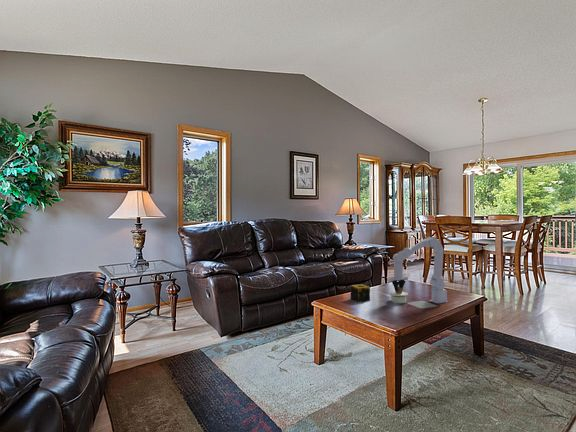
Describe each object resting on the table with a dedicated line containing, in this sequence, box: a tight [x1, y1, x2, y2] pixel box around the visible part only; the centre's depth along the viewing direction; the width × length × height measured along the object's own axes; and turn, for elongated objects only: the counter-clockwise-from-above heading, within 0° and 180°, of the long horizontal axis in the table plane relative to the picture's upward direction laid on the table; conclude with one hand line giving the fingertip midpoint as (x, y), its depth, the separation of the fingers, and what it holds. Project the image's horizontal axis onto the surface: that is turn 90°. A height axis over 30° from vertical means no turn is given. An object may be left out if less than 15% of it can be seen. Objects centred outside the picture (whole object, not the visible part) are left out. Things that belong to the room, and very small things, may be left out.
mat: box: [406, 300, 438, 309], centre depth 212 cm, size 14×14×1 cm
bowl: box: [390, 295, 407, 304], centre depth 220 cm, size 10×10×4 cm
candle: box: [350, 283, 371, 303], centre depth 227 cm, size 10×10×10 cm
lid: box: [389, 286, 409, 297], centre depth 220 cm, size 12×12×5 cm
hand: (398, 291), depth 220 cm, fingers closed on lid, 3 cm apart
